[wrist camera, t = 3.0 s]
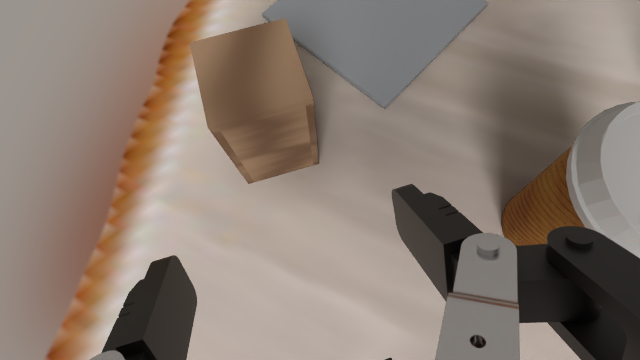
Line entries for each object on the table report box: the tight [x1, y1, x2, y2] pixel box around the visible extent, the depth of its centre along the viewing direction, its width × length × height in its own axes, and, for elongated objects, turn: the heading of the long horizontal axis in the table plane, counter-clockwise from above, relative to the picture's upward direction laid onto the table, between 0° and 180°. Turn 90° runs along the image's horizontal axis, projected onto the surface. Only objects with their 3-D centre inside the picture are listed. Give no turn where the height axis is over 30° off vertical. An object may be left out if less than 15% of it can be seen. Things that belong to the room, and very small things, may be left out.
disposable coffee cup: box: [502, 101, 640, 258], centre depth 21 cm, size 10×10×12 cm
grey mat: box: [262, 0, 488, 109], centre depth 34 cm, size 16×16×1 cm
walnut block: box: [190, 18, 319, 184], centre depth 25 cm, size 6×6×10 cm
